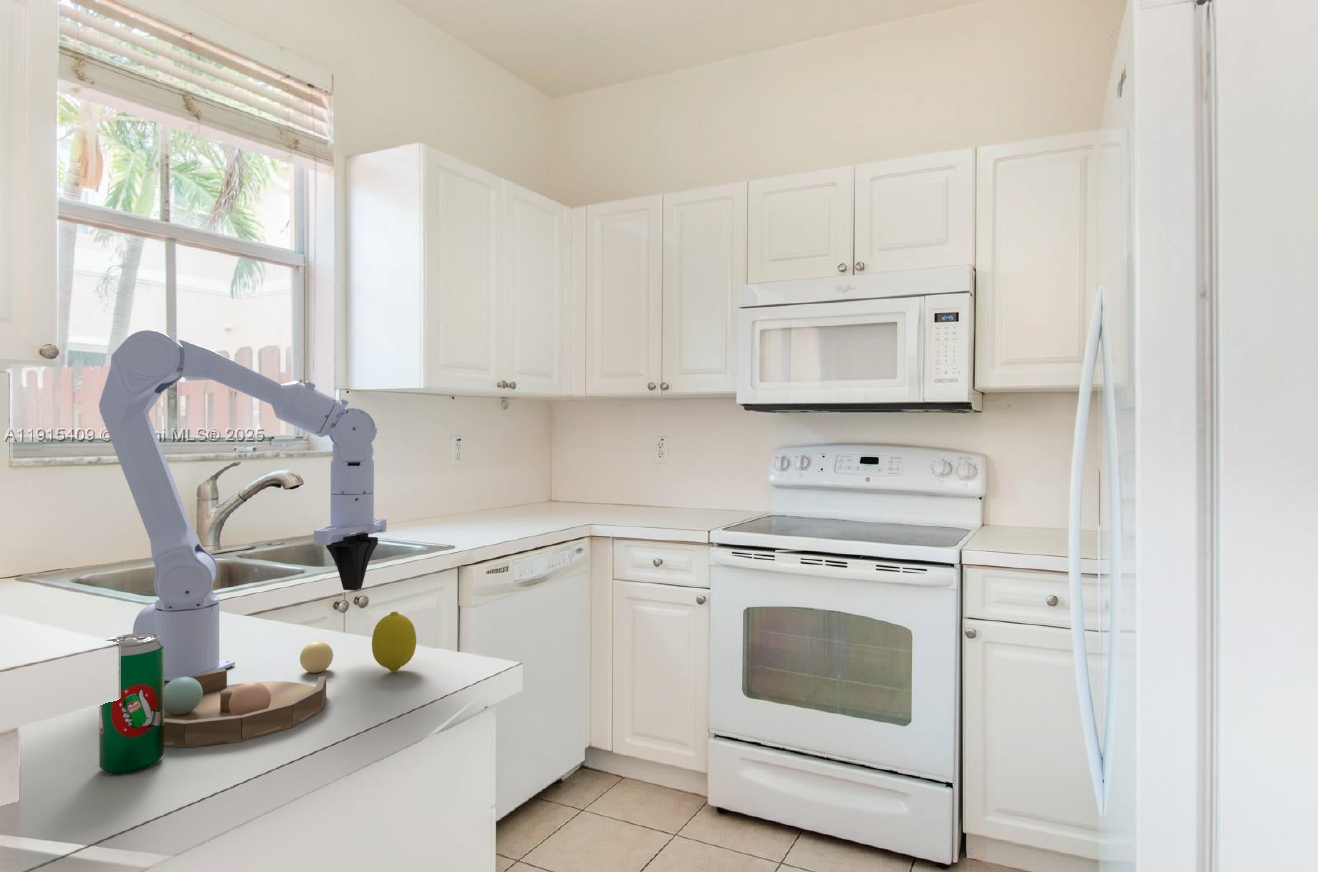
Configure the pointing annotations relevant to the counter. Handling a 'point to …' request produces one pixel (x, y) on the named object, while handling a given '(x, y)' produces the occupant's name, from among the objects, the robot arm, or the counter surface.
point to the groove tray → (220, 726)
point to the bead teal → (182, 695)
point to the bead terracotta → (249, 698)
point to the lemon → (393, 641)
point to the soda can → (135, 708)
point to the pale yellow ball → (316, 657)
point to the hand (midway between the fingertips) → (352, 589)
